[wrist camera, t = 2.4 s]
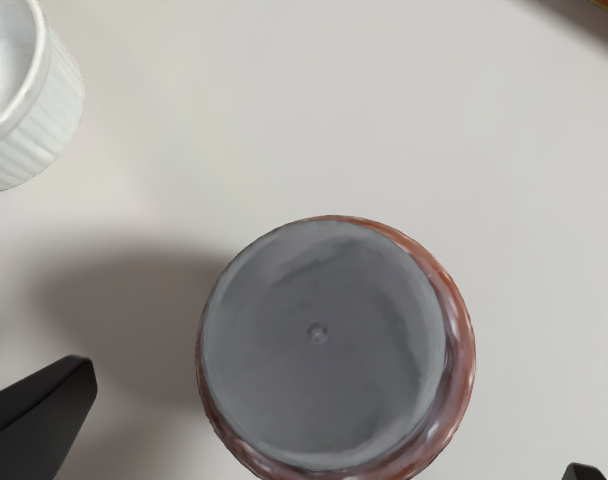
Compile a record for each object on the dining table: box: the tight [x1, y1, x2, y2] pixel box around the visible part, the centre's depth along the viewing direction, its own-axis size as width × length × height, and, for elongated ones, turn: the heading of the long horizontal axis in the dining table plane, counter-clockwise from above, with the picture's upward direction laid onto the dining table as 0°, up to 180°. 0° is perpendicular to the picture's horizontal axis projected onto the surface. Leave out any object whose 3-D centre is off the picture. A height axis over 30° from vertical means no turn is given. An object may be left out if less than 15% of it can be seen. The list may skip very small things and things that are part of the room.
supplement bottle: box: [195, 215, 476, 480], centre depth 14 cm, size 6×6×11 cm
